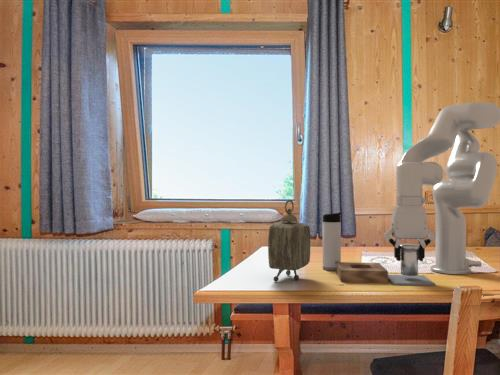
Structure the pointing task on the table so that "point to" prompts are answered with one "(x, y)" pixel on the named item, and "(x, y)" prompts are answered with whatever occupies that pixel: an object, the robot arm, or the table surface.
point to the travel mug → (331, 241)
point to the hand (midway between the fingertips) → (409, 259)
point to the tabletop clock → (288, 244)
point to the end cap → (409, 259)
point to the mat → (410, 280)
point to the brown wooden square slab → (361, 272)
